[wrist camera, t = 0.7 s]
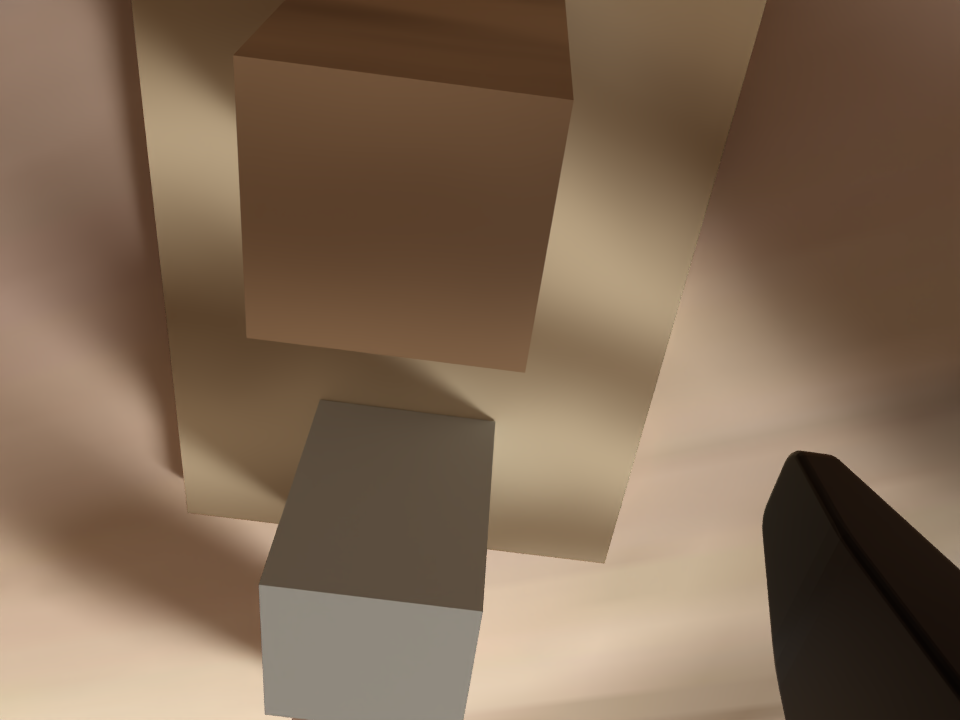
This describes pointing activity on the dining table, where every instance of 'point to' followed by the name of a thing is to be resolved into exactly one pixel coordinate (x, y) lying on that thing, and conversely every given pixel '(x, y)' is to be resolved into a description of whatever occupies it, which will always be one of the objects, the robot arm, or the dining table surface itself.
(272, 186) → the walnut block
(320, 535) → the slate block
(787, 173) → the dining table surface
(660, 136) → the board
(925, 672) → the robot arm
